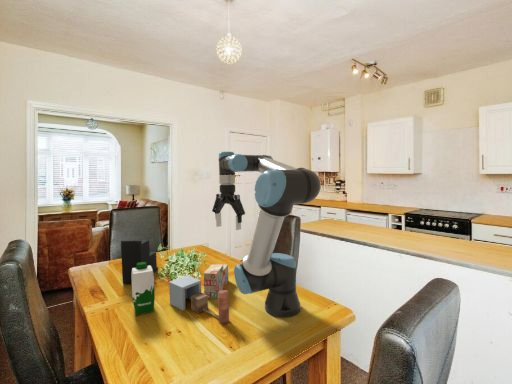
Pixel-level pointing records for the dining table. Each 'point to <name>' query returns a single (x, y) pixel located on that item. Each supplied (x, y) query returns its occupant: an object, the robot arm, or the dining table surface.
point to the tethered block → (201, 304)
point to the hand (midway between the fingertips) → (228, 228)
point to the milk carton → (143, 288)
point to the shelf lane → (183, 290)
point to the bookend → (135, 257)
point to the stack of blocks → (215, 279)
